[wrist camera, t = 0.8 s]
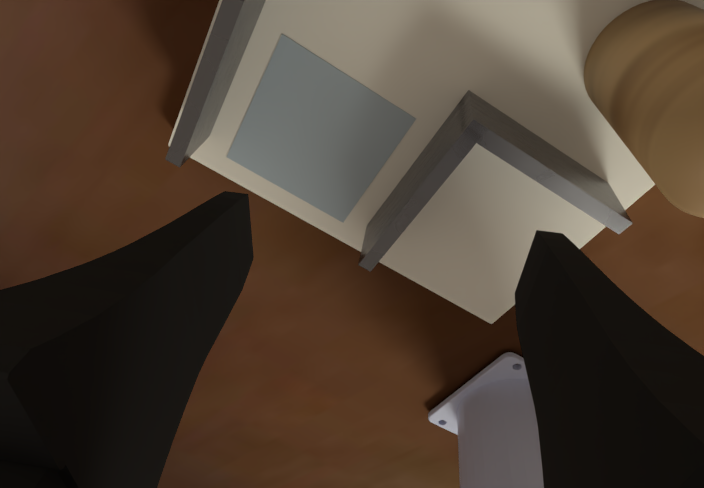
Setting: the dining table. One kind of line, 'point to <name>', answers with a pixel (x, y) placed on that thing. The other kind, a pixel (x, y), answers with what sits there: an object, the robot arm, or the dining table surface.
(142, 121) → the dining table surface
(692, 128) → the oak dowel
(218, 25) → the metal rails
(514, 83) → the track board
